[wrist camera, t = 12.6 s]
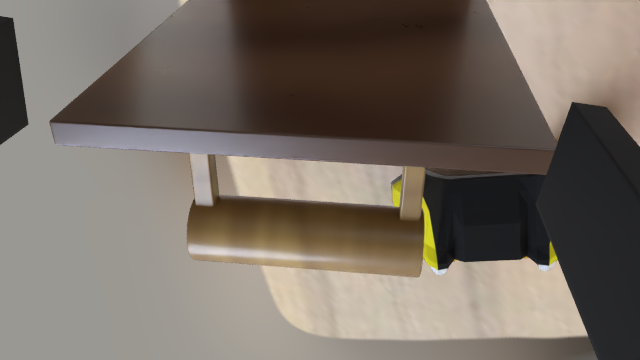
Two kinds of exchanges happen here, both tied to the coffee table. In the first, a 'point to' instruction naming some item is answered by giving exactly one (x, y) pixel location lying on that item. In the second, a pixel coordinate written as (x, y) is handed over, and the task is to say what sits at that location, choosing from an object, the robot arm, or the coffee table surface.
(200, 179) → the chest lid
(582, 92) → the coffee table surface
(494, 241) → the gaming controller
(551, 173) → the robot arm
